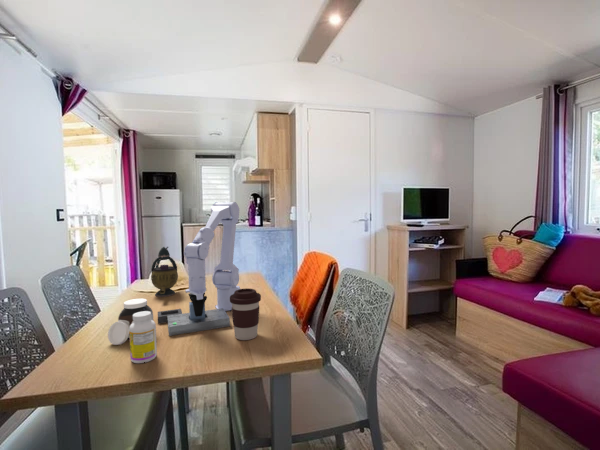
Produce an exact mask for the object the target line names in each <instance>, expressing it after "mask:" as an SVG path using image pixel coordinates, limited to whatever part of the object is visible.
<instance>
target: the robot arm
mask: <svg viewBox="0 0 600 450" xmlns="http://www.w3.org/2000/svg"><path fill="white" fill-rule="evenodd" d="M210 213H211V214H210V216H209V218H208V220H207V222H206V225H205V226H203V227H201V228H200V229H199V230H198V232H197V233H196V235H195V237H194V238H193V240H192V242H189V243H188V244H187V245H186V246H185V247H184V251H183V256H184V258H185V259H186V260H185V261H186V264H187V268H188V269H187V274H188V288H187V289H185V293H186V294H188V297H189V300H190V302H192V303H193V307H194V312H195V316H196V317H197V316H202V313H203V307H204V303H205V304H206V301H207V298H208V297H207V295H206V291H207V287H206V285H207V283H206V282H207V281H206V259H207V258H208V256H209V250H210V245H211V243H212V241H213V240H214V238H215V232H214V231H215V230H216V229H217V228H218V227H219V224H222V226H223V227H222V228H223V229H222V237H221V251H220V263H219V264H217V265H216V266H215V267H214V269H213V270H214V271H213V274H212V277H211V280H212V285H214V286H215V288H216V297H217V298H216V299H217V300H216V301H217V303H216V305H215V306H214V307H215V309H221V308H223V309H224V310H225V312H227V311H232V303H231V302H230V296H231V295H233V294H234V292H235V291H236V290H239V289H241V288H240V287H241V286H240V285H239V283H240V273H239V268H238V266H236V265H235V264H234V253H235V241H236V229H237V224H238V222H239V219H240V207H239V205H238V203H237V202H236V201H232V202H231V201H227V202H226V201H222V202H221V201H220V202H219V201H214V202H213V204H212V205H211V207H210Z"/></svg>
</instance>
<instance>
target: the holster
mask: <svg viewBox="0 0 600 450" xmlns="http://www.w3.org/2000/svg"><path fill="white" fill-rule="evenodd" d="M177 314H183V311H182V309H181V308H177V309H167V310H162V311H161V310H160V311H157V324H165V323H166V324H167V323H168V320H167V316H170V315H177Z"/></svg>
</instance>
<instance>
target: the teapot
mask: <svg viewBox="0 0 600 450" xmlns="http://www.w3.org/2000/svg"><path fill="white" fill-rule="evenodd" d="M168 248H169V246H166V247H165V246H163V247H161V249H160V250H159V252H158V254H157V257H156V258H155V260H154V261H153V262H152V265H151V268H150V269H151V274H150V279H151V283H152V285H153V287H154V288H156V289H158V291H157V292H156V293H155V294H154V296H155V297H157V296H158V298H159V297H160V298H166V297H170V296H174V295H175V294H176V291H175V290H173V289H172V288H173V287H174V286H175V285H176V284H177V283H178V280H179V275H178V274H179V273H178V266H177V263H176V261H175V260H174V258H172V257H171V255H170V252H169V250H168ZM167 260H169V262H170V263H171V265H172V266H171V265H169V264H161V261H167Z"/></svg>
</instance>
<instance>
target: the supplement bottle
mask: <svg viewBox="0 0 600 450" xmlns="http://www.w3.org/2000/svg"><path fill="white" fill-rule="evenodd" d="M153 320H154V319H153ZM153 320H151V312H150V311H142V312H137V313H135V314H133V321H134V323H132V324H131V325H130V327H129V335H130V340H129V349H130V350H129V355H130V356H129V357H130V360H131V362H132V363H134V364H145V363H148V362H151V361H153V360H154V359H156V357H157V354H158V352H157V350H158V349H157V330H156V329H157V327H156V321H153ZM144 362H145V363H144Z"/></svg>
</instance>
